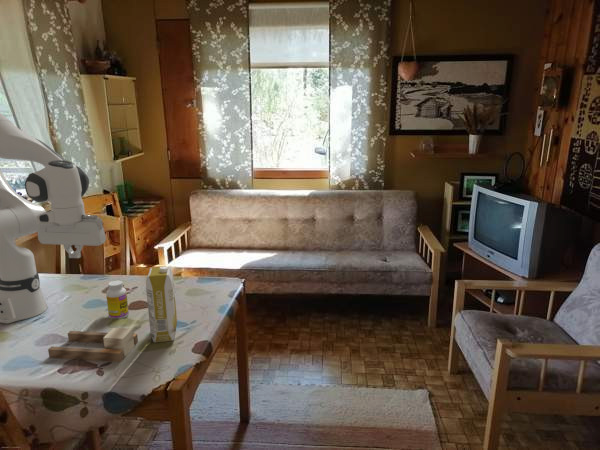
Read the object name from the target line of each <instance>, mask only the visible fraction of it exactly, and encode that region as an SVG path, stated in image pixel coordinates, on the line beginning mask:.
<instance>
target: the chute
mask: <svg viewBox="0 0 600 450" xmlns="http://www.w3.org/2000/svg"><path fill="white" fill-rule="evenodd" d="M108 333H109V332H103V331H102V332H100V331H84V330H83V331H79V330H70V331H68V332H67V338H68V342H74V343H75V342H76V343H77V342H78V343H97V344H104V339H103V338H104V337H105V336H106V335H107V334H108ZM133 338H134V346H136V345H137V344H138V343H139V338H138V333H133ZM47 352H48V357H49V359H67V360H80V361H81V360H82V361H97V362H98V361H100V362H116V363H117V362H119V363H121V362H123V360H124V357H123V351H122V350H115V349H105V348H101V349H100V348H86V347H85V348H83V347H82V348H81V347H70V346H69V347H66V346H50V347H49V348H48V349H47Z"/></svg>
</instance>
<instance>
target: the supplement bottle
mask: <svg viewBox="0 0 600 450" xmlns="http://www.w3.org/2000/svg"><path fill="white" fill-rule="evenodd" d="M123 286H124V285H123V281H122V280H112V281H109V282H108V283H107V287H108V290H107V291H106V292H105V294H106V295H105V296H106V303H107V305H106V306H107V311H108V312H107V313H108V318H109V319H125V318H127V317H128V316H129V304H128V303H129V302H128V293H127V289H126V288H125V287H123Z"/></svg>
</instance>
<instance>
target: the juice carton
mask: <svg viewBox="0 0 600 450" xmlns="http://www.w3.org/2000/svg"><path fill="white" fill-rule="evenodd" d="M174 280H175V279H174V274H173V271H172V268H171V266H165V265H163V266H160V267H159V266H158V267H151V268H149V271H148V275H147V276H146V281H145V291H146V301H147V311H148V319H149V322H148V323H149V329H150V330H149V331H150V336H151V339H152V342H153V343H163V342H164V343H165V342H172V341H174V340H175V339H176V338H175V337H176V332H177V326H178V325H177V324H178V318H177V317H178V316H177V314H178V313H177V305H176V292H175V281H174Z"/></svg>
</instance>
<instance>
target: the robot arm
mask: <svg viewBox="0 0 600 450" xmlns="http://www.w3.org/2000/svg"><path fill="white" fill-rule="evenodd" d="M0 159H2V160H3V159H4V160H13V161H14V160H18V161H28V162H29V161H30V162H34V163H37V164H40V165H42V166H44V168H41V169H39V170H37V171H33V172H31V173H29V174H28V175H27V176H26V179H25V181H24V188H25V193H26V195H27V196H28V197H29V199H31V200H33V202H32V201H30V200H28V199H26V198H24V197H23V196H22V195H20V194H18V193H17V192H16V191H15V190H14V189H13V187H12V186H11V185H10V183H9V181H8V180H7V178H6V177H5V175H4V173H3V171H2V169H0V323H2V324H11V323H14V322H17V321H21V320H22V321H23V320H26V319H30V318H34V317H35V316H39V315H41V314H42V313H44V312H46V311H47V309H48V308H49V307H48V304H47V302H46V300H45V298H44V295H43V292H42V290H41V287H40V286H41V285H40V283H41V282H40V281H41V280H40V277H39V276H40V275H39V272H38V271H37V266H36V261H35V256H34V255H35V254H34V253H33V252H32V250H30V249H29V248H27V247H22V246H18V245H17V243H16V239H18V238H22V237H26V236H29V235H33V234H35V233H37V239H38V242H40V244H42V245H63V249H64V250H65V251H66V253H68V258H69V259H80V258H81V257H82V254H81V252H82V250H83V247H84V246H91V247H92V246H95V247H96V246H97V247H98V246H99V247H100V246H101V245H103V244H104V243H105V242H106V240H107V238H106V232H105V228H104V223H103V222H104V221H103V218H101V217H99V215H96V214H92V215H90V214H89V215H87V214H86V211H85V203H84V200H83V198H82V197H83V196H84V195H85V194H86V193H87V191H88V190H89V187H90V179H89V176H88V174H87V173H86V171H84V170H83V169H82V168H81V167H79V166H77V165H76V164H75V163H74V162H72V161H69V160H67V159H65V158H64V157H63V156H62V155H60V154H59V153H58V152H57V151H55V150H54V149H53V148H52V147H50V146H49V145H48V144H46V143H45V142H43V141H42V140H40V139H38V138H36V137H33V136H31V135H29V134H27V133H26V132H25V131H23V130H21V129H20V128H18V126H16V125H15V123H13V122H12V121H11V120H10V119H9V118H8V117H7V116H6V115H4V114H3V113H1V112H0ZM35 202H36V203H35ZM49 202H50V209H49V210H47V211H46V209H45V208H44V207H43V206H41V205H40V204H38V203H49ZM72 246H74V248H75V249H76V250H75V251H74V250H73V247H72Z"/></svg>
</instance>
